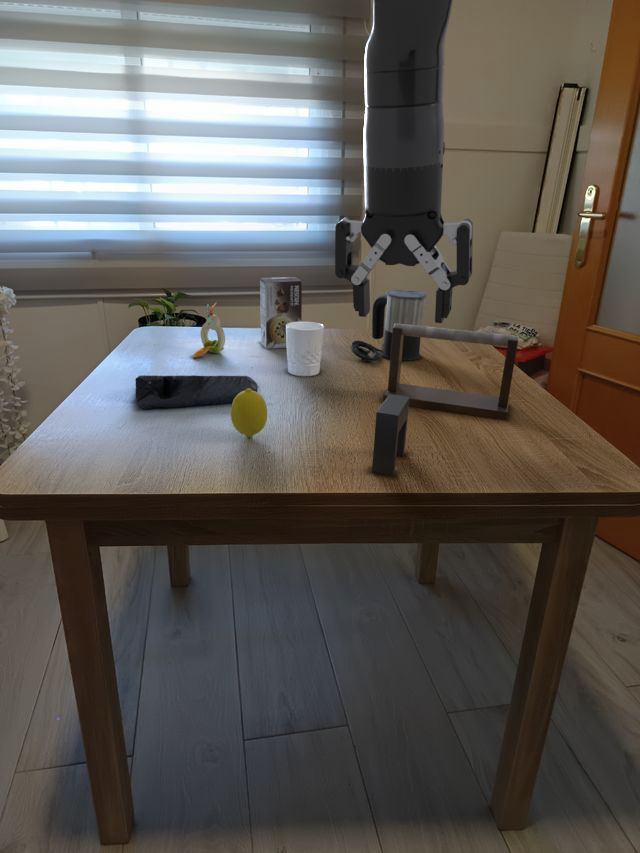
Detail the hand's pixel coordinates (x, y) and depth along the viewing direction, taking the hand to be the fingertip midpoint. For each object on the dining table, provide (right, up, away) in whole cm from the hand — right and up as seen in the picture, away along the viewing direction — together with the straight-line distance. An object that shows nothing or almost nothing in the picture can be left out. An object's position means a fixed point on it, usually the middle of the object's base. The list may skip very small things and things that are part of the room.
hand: (401, 317), depth 64 cm
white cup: (-13, -1, +59) cm, 60 cm away
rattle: (-36, +5, +69) cm, 78 cm away
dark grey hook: (+1, -17, +19) cm, 26 cm away
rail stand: (+14, -8, +43) cm, 46 cm away
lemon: (-20, -14, +26) cm, 35 cm away
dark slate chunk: (-32, -7, +43) cm, 54 cm away
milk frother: (+6, +4, +71) cm, 72 cm away
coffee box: (-19, +8, +79) cm, 82 cm away
